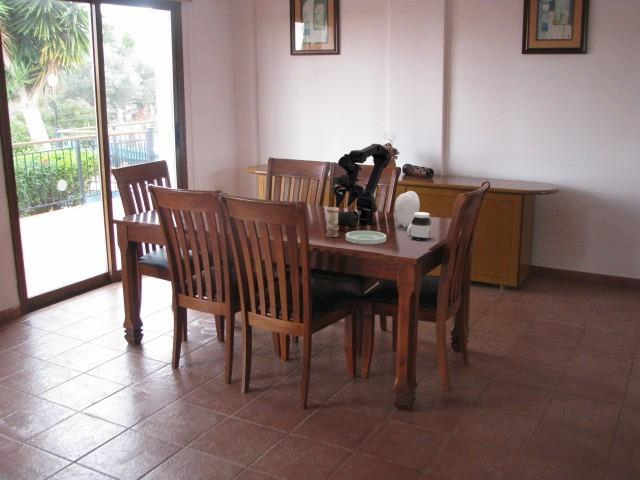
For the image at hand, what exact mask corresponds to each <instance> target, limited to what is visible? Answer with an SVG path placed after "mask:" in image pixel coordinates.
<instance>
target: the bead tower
mask: <svg viewBox="0 0 640 480" xmlns="http://www.w3.org/2000/svg"><path fill="white" fill-rule="evenodd" d="M326 212H327V219H326V220H327V224H326V228H325V229H326V233H325V234H326V235H325V236H326V238H331V237H335V238H338V237H339V233H338V231H339V230H340V229H339V228H340V227H339V224H338V212H340V208H339V207H338V208H337V207H336V206H328V207H327V208H326Z"/></svg>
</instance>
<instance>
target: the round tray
mask: <svg viewBox="0 0 640 480" xmlns="http://www.w3.org/2000/svg"><path fill="white" fill-rule="evenodd" d="M345 241H347V242H349V243H353V244H357V243H358V244H359V245H378V244H379V243H380V244H384V243H386V242H387V234H385V233H383V232H379V231H377V230H376V231H374V230H353V231H348V232H346V233H345Z"/></svg>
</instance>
